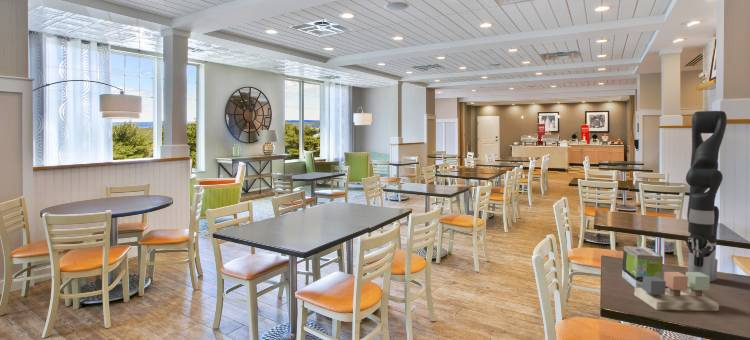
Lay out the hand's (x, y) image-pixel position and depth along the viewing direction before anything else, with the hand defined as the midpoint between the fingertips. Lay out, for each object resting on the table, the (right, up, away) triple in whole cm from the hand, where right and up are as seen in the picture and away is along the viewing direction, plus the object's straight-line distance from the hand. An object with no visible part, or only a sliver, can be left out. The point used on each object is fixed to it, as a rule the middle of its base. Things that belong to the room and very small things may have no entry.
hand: (698, 266), depth 155 cm
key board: (-8, -14, +2) cm, 16 cm away
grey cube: (-16, -10, +2) cm, 19 cm away
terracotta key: (-8, -8, +1) cm, 12 cm away
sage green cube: (0, -8, +1) cm, 8 cm away
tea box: (-8, -13, +22) cm, 26 cm away
